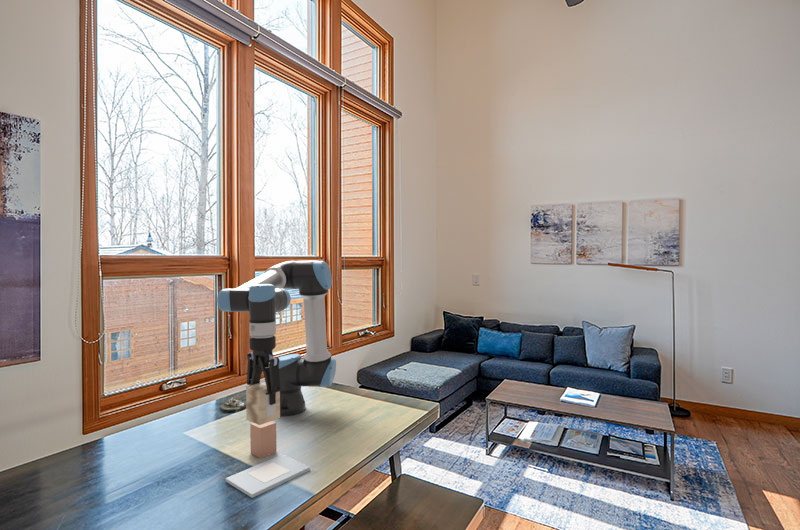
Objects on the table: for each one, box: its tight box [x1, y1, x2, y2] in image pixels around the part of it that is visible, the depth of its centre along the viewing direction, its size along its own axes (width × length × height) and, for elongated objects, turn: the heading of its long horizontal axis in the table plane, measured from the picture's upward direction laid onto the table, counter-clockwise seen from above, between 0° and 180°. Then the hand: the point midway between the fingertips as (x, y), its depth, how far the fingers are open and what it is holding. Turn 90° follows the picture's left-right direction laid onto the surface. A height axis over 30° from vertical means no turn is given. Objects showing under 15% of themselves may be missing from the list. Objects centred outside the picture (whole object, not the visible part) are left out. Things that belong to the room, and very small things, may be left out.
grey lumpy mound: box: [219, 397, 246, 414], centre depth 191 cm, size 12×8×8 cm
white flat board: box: [225, 453, 311, 499], centre depth 132 cm, size 14×20×1 cm
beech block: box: [245, 381, 281, 425], centre depth 132 cm, size 7×7×10 cm
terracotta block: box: [249, 420, 278, 459], centre depth 148 cm, size 6×6×10 cm
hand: (263, 411), depth 132 cm, fingers closed on beech block, 7 cm apart
